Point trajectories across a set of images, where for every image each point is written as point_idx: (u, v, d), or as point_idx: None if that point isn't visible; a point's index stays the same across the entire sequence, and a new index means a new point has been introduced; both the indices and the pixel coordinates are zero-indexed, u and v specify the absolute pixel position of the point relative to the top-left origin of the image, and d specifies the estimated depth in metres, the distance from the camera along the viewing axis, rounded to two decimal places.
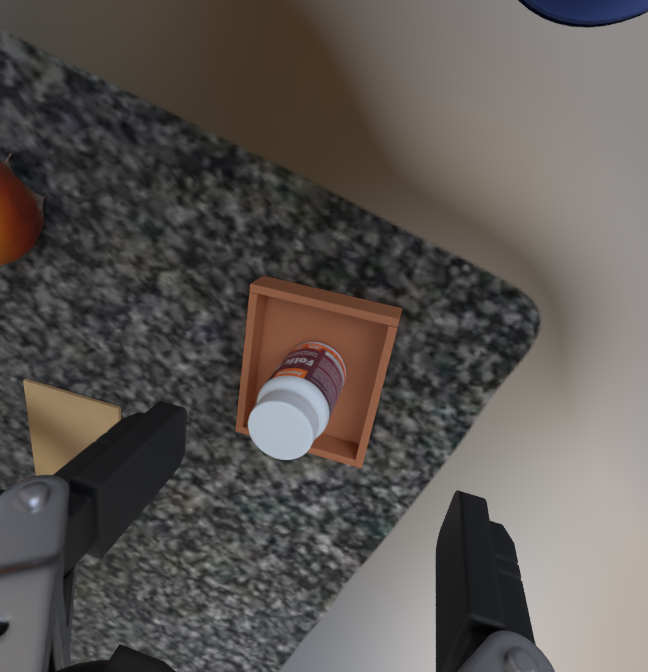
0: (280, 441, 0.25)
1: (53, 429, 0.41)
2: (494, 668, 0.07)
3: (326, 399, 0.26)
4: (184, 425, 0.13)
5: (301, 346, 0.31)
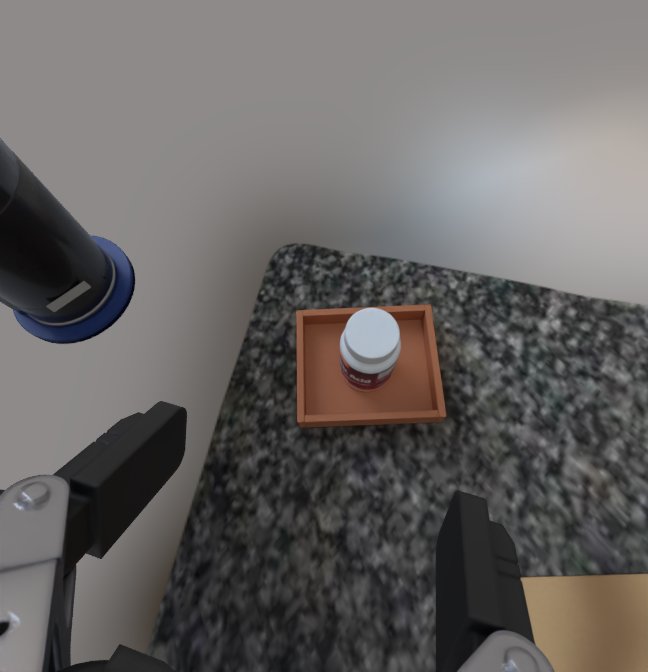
0: (381, 330, 0.31)
1: None
2: (494, 668, 0.07)
3: None
4: (184, 425, 0.13)
5: (344, 377, 0.38)
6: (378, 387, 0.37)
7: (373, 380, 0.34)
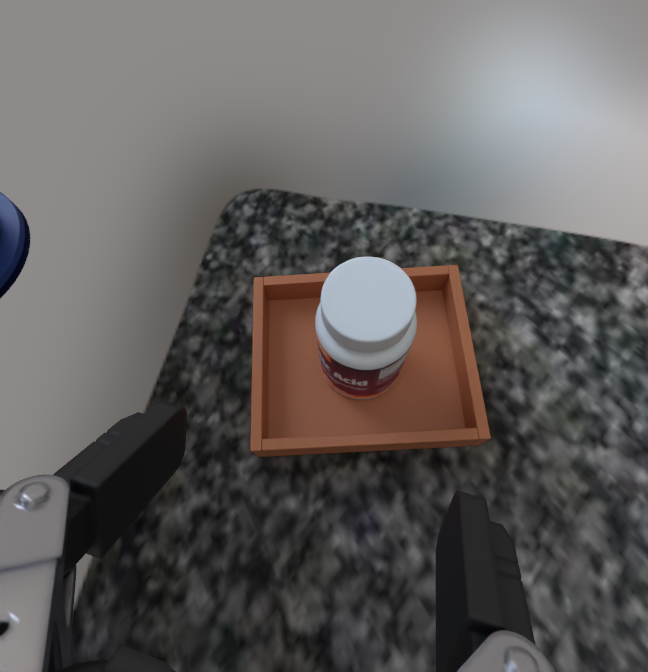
0: (384, 293, 0.18)
1: None
2: (494, 668, 0.07)
3: None
4: (184, 425, 0.13)
5: (326, 377, 0.24)
6: (380, 392, 0.24)
7: (372, 381, 0.21)
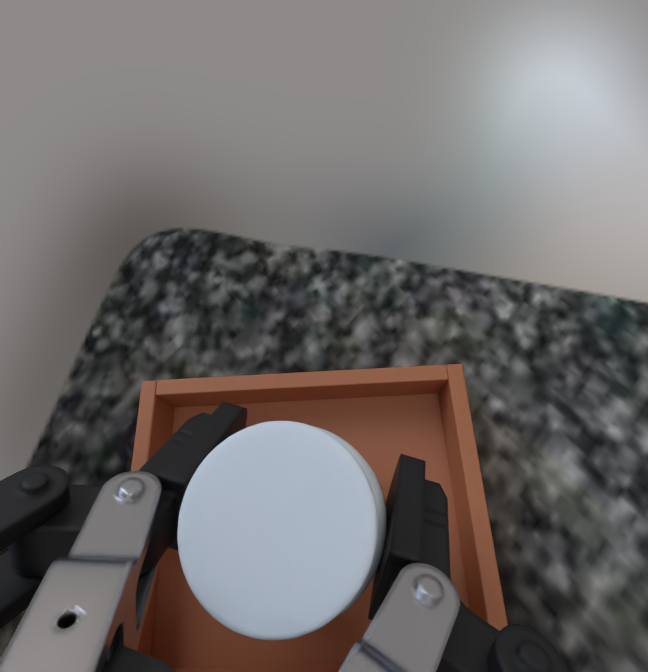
0: (310, 512, 0.09)
1: None
2: (407, 598, 0.08)
3: None
4: (244, 425, 0.13)
5: None
6: None
7: None
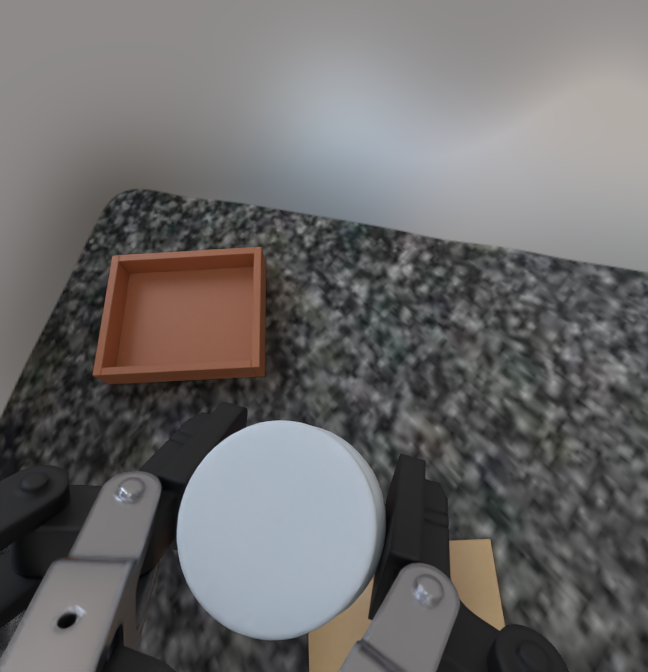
0: (309, 511, 0.09)
1: None
2: (407, 598, 0.08)
3: None
4: (244, 425, 0.13)
5: None
6: None
7: None
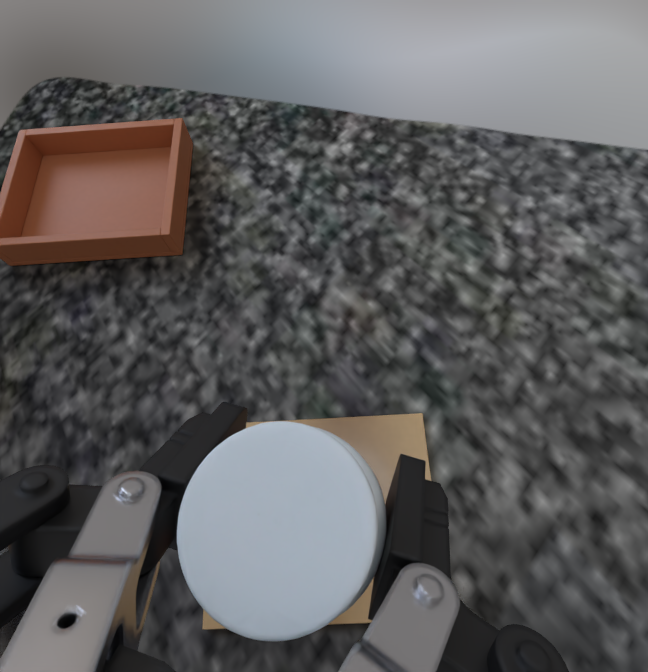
0: (309, 512, 0.08)
1: None
2: (407, 598, 0.08)
3: None
4: (244, 424, 0.13)
5: None
6: None
7: None
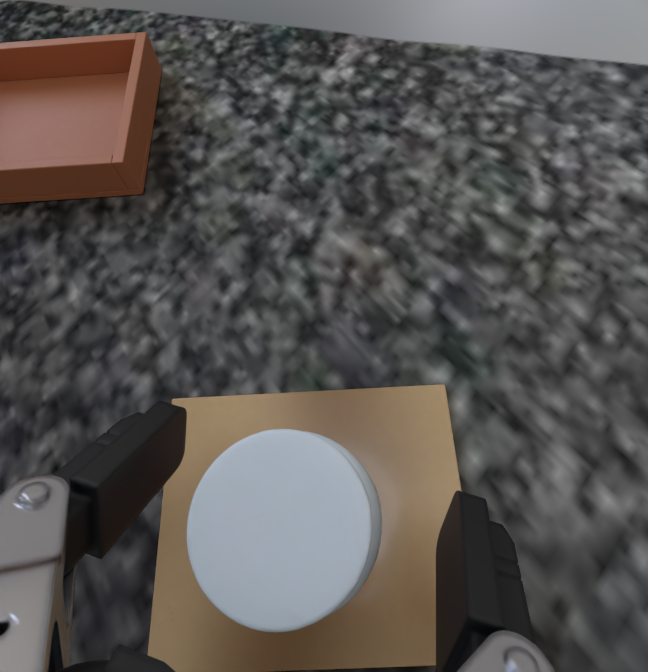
0: (309, 514, 0.09)
1: None
2: (494, 668, 0.07)
3: None
4: (184, 425, 0.13)
5: None
6: None
7: None
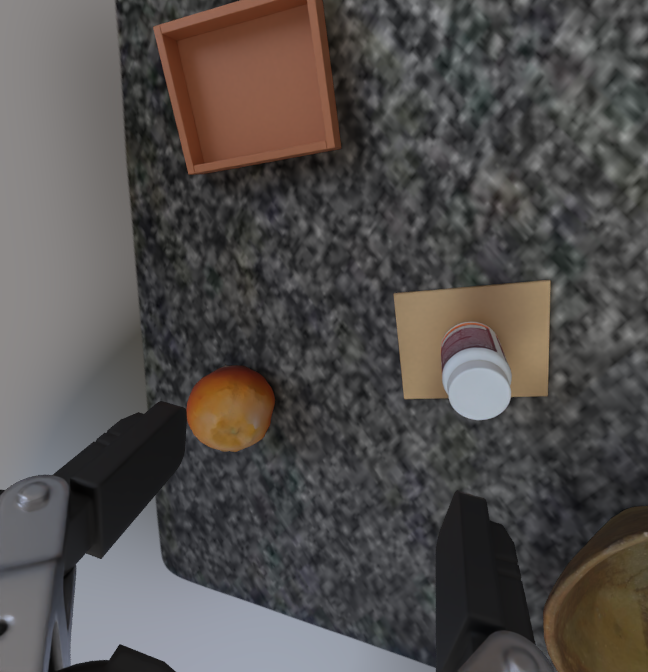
0: (489, 392, 0.29)
1: None
2: (494, 668, 0.07)
3: (456, 352, 0.31)
4: (184, 425, 0.13)
5: None
6: None
7: None
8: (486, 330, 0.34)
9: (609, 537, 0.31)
